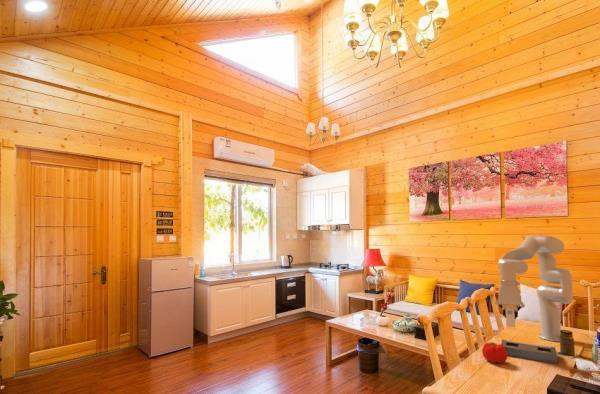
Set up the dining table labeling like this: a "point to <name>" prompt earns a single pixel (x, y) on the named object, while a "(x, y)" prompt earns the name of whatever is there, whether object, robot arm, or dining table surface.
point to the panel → (530, 351)
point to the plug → (510, 317)
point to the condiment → (566, 344)
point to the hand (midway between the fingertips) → (510, 317)
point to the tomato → (494, 352)
